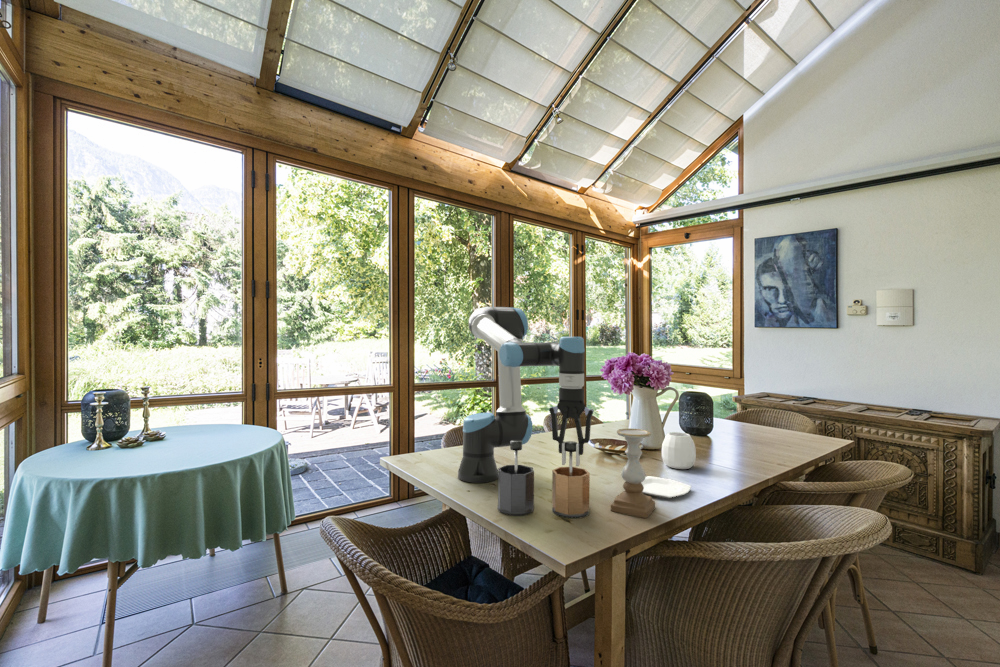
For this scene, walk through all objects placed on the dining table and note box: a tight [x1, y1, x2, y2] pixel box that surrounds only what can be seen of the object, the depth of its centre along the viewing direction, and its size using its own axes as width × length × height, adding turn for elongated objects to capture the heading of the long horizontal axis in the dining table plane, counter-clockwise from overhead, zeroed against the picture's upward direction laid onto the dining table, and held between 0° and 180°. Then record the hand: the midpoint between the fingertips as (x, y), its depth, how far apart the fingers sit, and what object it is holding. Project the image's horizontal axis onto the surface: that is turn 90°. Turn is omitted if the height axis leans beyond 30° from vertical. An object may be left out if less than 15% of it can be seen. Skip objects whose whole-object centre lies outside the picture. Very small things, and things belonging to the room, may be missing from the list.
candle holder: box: [610, 428, 656, 519], centre depth 143 cm, size 11×11×24 cm
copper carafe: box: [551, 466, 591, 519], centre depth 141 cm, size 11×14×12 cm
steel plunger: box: [509, 440, 523, 474], centre depth 142 cm, size 8×8×19 cm
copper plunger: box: [564, 440, 578, 476], centre depth 140 cm, size 8×8×19 cm
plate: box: [641, 475, 692, 499], centre depth 161 cm, size 19×19×2 cm
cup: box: [661, 431, 697, 470], centre depth 190 cm, size 13×13×14 cm
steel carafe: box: [497, 464, 535, 517], centre depth 143 cm, size 11×14×12 cm
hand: (570, 464), depth 140 cm, fingers closed on copper plunger, 3 cm apart
